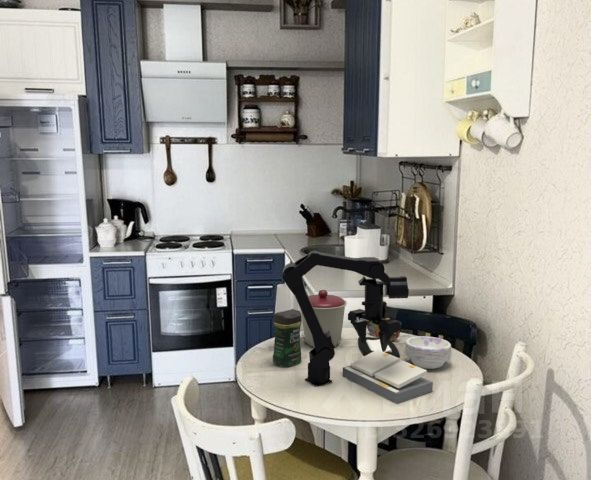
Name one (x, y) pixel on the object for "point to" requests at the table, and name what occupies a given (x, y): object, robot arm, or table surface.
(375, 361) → the rocker left
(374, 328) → the tin
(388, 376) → the rocker right
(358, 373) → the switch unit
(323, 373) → the robot arm
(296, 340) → the coffee jar
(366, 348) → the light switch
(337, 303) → the canister
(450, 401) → the table surface
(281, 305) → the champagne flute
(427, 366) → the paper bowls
